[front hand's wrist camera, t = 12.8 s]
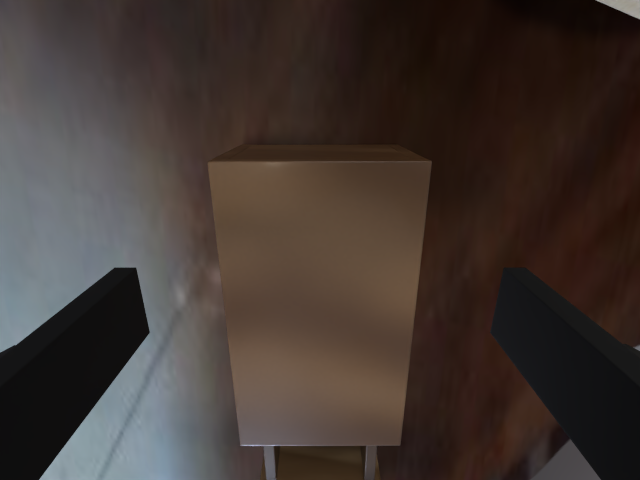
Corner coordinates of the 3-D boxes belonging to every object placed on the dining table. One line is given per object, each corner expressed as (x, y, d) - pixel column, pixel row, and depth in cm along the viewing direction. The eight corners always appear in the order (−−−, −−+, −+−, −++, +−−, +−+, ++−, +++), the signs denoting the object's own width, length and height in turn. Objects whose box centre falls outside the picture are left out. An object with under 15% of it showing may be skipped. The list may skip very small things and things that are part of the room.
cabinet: (381, 365, 31) (400, 446, 24) (259, 365, 31) (239, 446, 24) (398, 144, 24) (432, 160, 17) (241, 144, 24) (206, 161, 17)
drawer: (368, 479, 35) (378, 551, 29) (272, 479, 35) (262, 551, 29) (383, 263, 27) (401, 306, 21) (256, 263, 27) (238, 307, 21)
